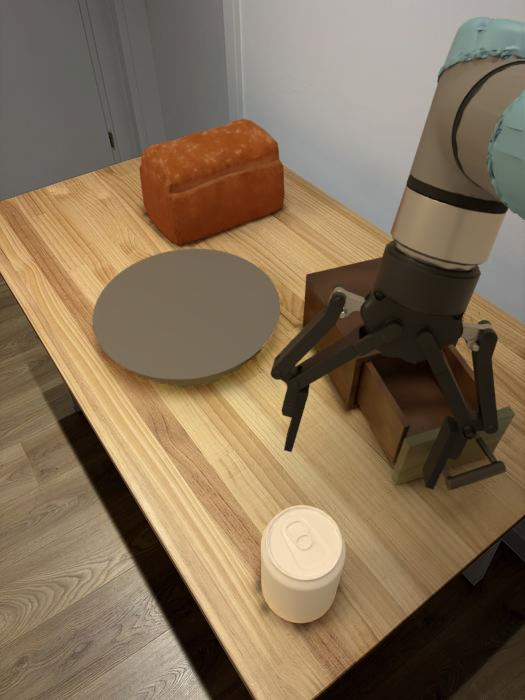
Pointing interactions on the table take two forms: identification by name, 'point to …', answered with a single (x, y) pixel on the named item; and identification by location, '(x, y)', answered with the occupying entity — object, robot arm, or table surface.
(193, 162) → the bread
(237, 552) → the table surface
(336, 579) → the beverage can
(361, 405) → the drawer
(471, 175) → the robot arm
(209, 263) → the flat disc
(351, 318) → the cabinet
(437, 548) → the table surface
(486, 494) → the table surface
